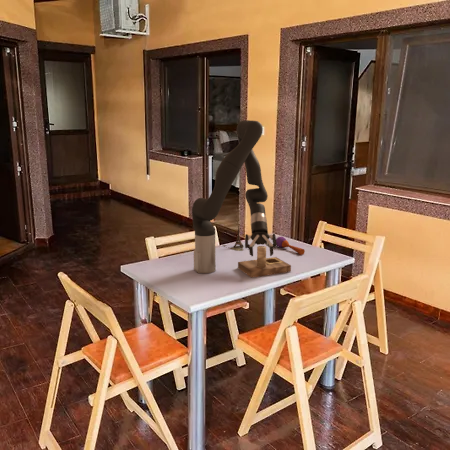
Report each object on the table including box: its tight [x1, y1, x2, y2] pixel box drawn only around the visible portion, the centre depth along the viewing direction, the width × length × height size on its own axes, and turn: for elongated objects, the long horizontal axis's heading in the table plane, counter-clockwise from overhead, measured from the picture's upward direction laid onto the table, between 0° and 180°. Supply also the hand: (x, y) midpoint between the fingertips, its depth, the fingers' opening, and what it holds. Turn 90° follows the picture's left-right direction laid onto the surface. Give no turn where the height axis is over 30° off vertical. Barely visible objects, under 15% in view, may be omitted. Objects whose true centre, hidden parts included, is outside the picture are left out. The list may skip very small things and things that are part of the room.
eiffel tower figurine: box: [222, 223, 249, 252], centre depth 255 cm, size 15×10×13 cm
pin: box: [256, 245, 267, 268], centre depth 214 cm, size 4×4×9 cm
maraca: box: [276, 236, 306, 256], centre depth 251 cm, size 6×6×20 cm
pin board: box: [237, 256, 292, 279], centre depth 219 cm, size 20×14×3 cm
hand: (261, 255), depth 214 cm, fingers open, 8 cm apart
